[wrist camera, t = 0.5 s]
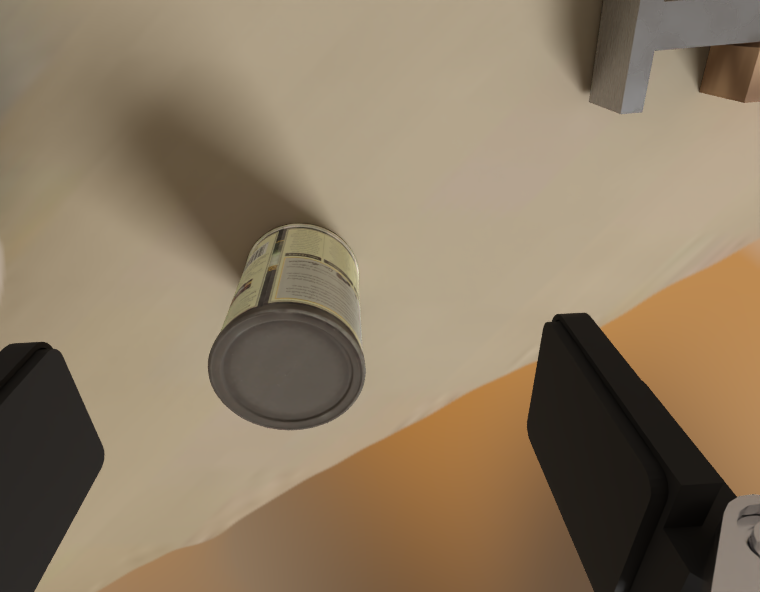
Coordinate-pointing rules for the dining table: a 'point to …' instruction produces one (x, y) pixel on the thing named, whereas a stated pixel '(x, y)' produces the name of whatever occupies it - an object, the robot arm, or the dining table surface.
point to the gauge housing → (733, 72)
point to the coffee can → (292, 332)
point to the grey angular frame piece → (660, 41)
